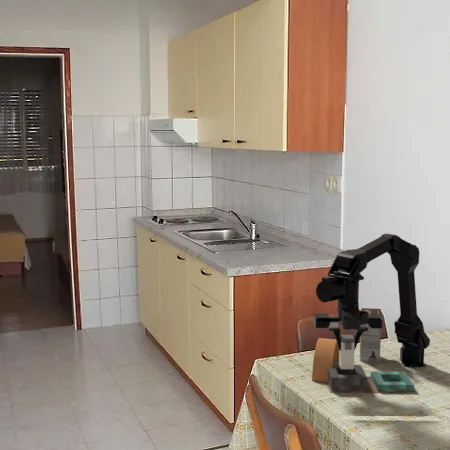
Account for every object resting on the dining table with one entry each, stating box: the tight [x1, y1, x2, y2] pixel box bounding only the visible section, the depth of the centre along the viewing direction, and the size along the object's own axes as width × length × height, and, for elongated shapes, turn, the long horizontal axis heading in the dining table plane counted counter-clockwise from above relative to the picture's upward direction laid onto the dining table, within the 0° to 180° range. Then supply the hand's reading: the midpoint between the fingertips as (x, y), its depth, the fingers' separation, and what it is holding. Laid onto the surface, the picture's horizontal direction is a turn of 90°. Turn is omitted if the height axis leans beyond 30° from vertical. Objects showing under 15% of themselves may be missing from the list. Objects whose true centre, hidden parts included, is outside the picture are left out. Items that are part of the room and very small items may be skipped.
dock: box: [325, 364, 417, 394], centre depth 179 cm, size 24×12×5 cm, turn 89°
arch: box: [311, 337, 339, 383], centre depth 190 cm, size 6×20×10 cm, turn 162°
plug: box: [338, 334, 355, 369], centre depth 177 cm, size 4×4×9 cm
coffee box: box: [359, 307, 382, 363], centre depth 201 cm, size 9×6×16 cm
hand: (346, 349), depth 178 cm, fingers closed on plug, 4 cm apart
